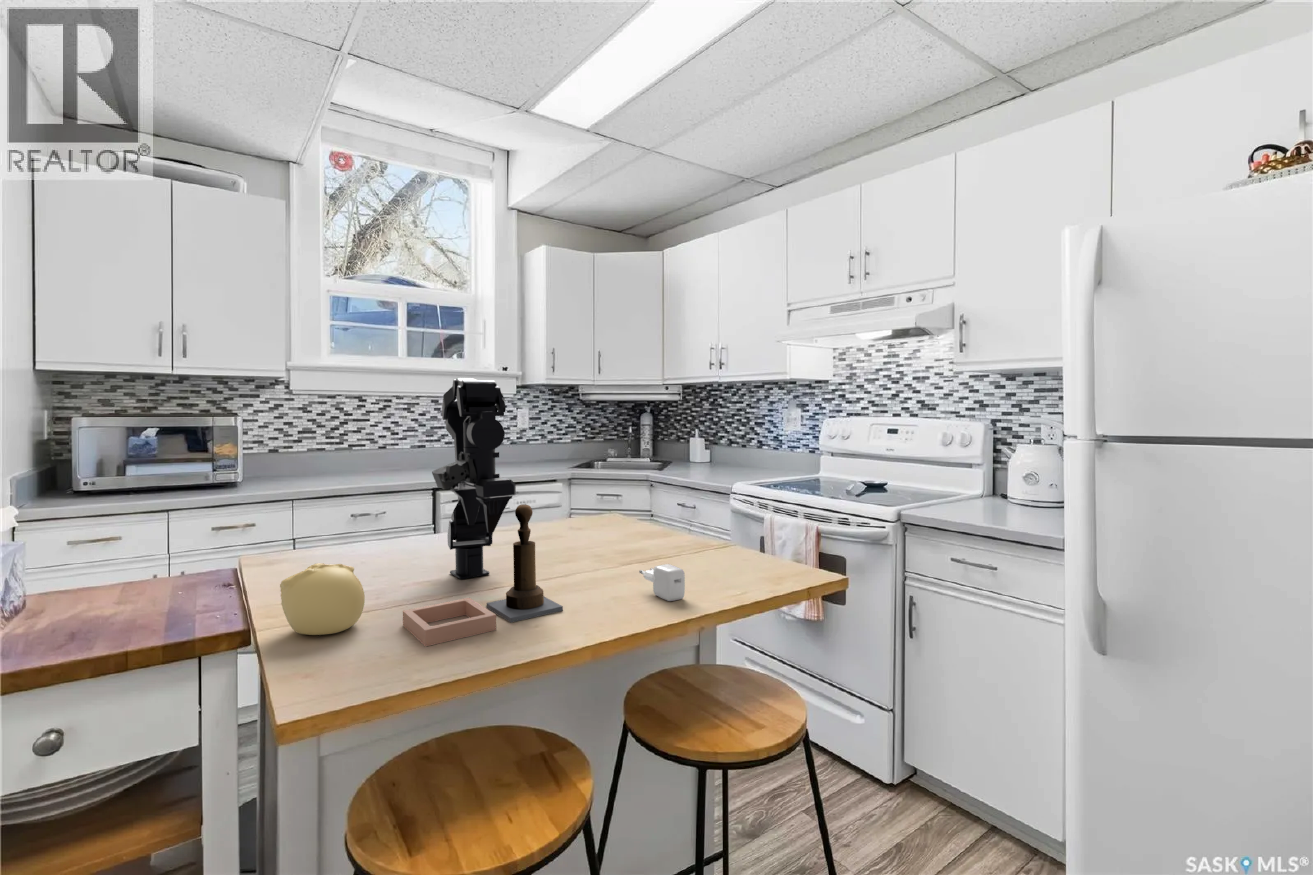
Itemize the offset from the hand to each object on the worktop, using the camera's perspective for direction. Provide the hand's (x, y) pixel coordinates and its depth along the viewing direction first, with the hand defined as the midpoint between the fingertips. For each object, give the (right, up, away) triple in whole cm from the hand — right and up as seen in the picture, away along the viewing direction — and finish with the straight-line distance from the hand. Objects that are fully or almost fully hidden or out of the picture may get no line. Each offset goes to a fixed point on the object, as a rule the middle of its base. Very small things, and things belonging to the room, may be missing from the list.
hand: (480, 528), depth 120 cm
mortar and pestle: (+10, -13, -7) cm, 17 cm away
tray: (-1, -14, -16) cm, 21 cm away
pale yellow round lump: (-21, -14, -17) cm, 30 cm away
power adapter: (+34, -13, +2) cm, 37 cm away
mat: (+10, -13, -7) cm, 18 cm away
